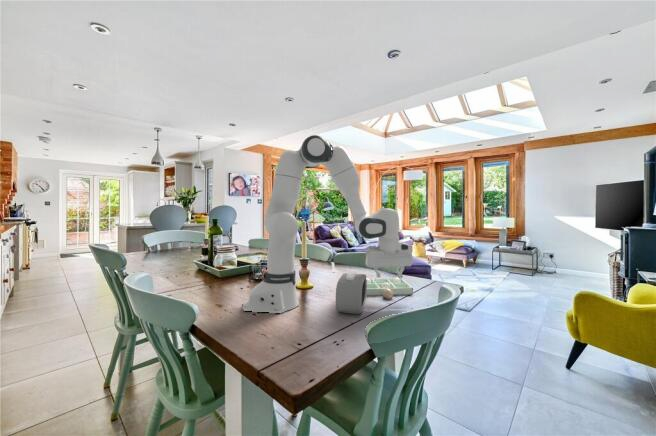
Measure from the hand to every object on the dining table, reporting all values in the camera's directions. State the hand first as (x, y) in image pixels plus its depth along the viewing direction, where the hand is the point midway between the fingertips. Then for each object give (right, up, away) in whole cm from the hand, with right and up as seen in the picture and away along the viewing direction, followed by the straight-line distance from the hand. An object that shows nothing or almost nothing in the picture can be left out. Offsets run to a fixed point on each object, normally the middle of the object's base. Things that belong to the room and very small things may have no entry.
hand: (389, 276), depth 120 cm
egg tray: (0, -9, +12) cm, 15 cm away
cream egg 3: (+7, -8, +16) cm, 19 cm away
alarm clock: (-17, -11, -9) cm, 22 cm away
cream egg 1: (-8, -9, +15) cm, 19 cm away
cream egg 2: (0, -9, +8) cm, 12 cm away
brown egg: (0, -10, 0) cm, 10 cm away
